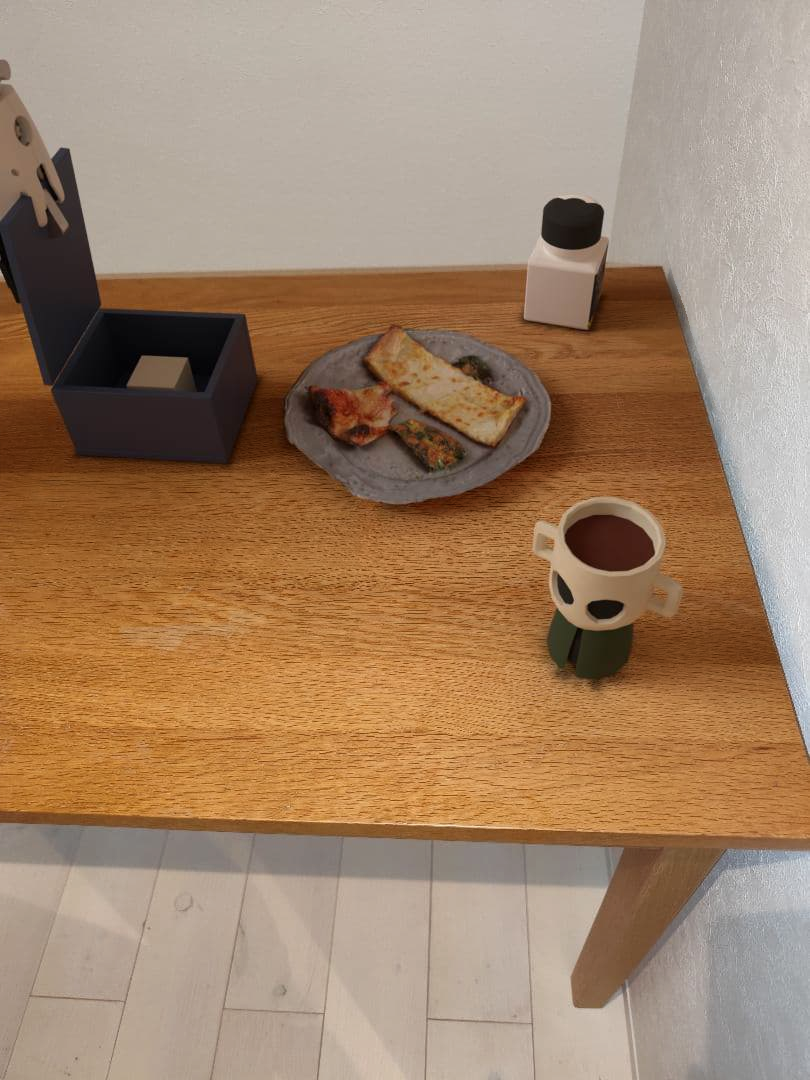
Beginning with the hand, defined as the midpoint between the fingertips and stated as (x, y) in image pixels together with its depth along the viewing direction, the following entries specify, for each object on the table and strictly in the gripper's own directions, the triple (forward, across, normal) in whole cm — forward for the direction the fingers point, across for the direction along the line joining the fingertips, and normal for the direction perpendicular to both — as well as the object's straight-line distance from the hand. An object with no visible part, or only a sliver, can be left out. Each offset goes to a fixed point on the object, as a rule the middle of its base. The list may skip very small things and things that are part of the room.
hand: (32, 294), depth 79 cm
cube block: (+12, -9, 0) cm, 16 cm away
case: (+13, -9, 0) cm, 16 cm away
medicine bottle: (+14, -48, -21) cm, 54 cm away
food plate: (+14, -33, -1) cm, 36 cm away
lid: (-3, -4, 0) cm, 5 cm away
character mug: (+14, -49, +24) cm, 57 cm away
